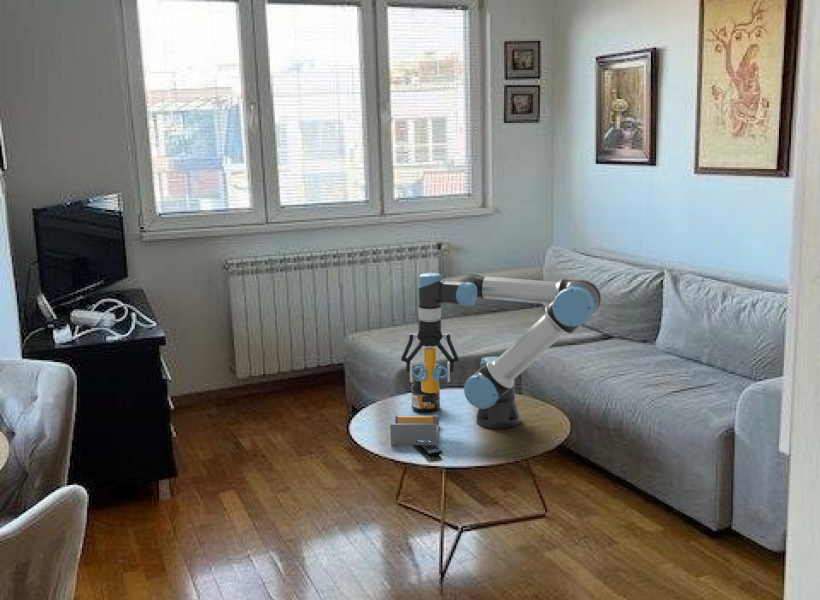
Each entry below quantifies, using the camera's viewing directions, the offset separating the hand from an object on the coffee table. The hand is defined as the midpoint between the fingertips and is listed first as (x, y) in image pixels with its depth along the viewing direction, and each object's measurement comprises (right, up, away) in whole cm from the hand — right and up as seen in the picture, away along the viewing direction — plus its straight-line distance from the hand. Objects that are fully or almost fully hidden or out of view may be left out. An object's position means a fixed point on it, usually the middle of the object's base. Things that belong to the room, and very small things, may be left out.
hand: (429, 381), depth 287 cm
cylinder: (0, -4, +1) cm, 4 cm away
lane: (-5, -18, -3) cm, 19 cm away
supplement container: (-1, -13, +23) cm, 26 cm away
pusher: (-5, -18, -3) cm, 19 cm away
